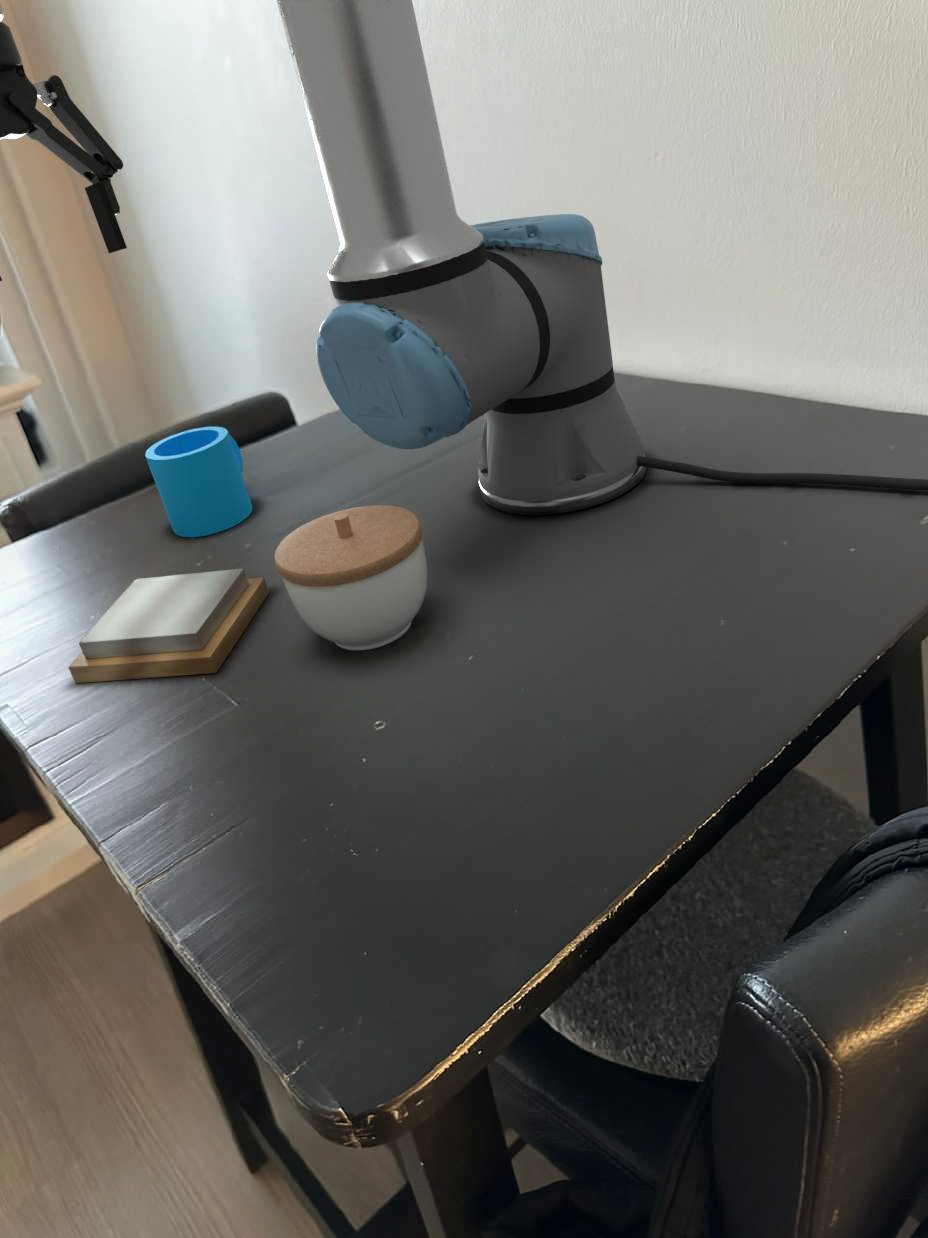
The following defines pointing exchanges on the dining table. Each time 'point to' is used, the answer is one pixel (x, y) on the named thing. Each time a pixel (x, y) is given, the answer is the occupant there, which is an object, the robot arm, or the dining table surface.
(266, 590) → the pad stack
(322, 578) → the trinket box
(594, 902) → the dining table surface
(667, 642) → the dining table surface
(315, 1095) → the dining table surface
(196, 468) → the mug
